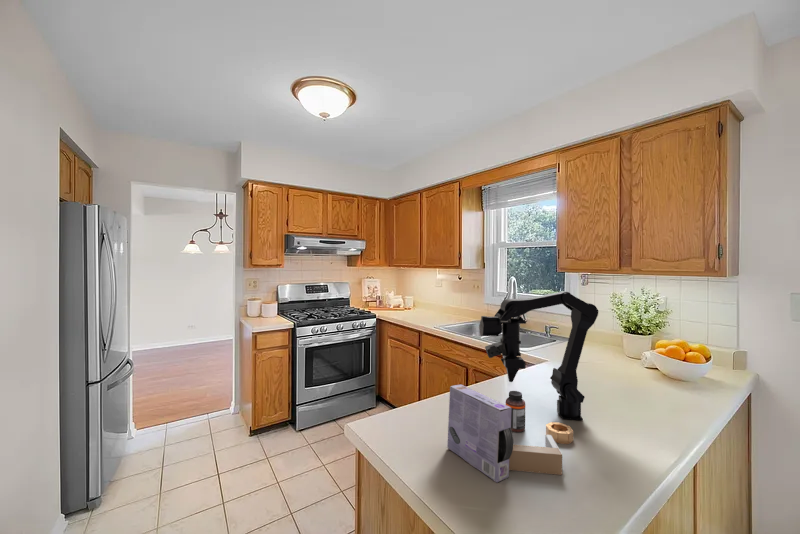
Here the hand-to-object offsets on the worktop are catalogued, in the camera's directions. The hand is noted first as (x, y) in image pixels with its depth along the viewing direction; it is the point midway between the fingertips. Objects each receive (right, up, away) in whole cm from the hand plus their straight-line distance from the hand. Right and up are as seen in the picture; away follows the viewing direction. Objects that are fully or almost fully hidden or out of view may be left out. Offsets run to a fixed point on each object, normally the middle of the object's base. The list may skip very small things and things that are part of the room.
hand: (510, 381), depth 116 cm
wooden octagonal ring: (+10, -12, -15) cm, 21 cm away
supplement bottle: (-1, -12, -9) cm, 15 cm away
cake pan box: (-18, -12, -28) cm, 35 cm away
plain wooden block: (-4, -12, -25) cm, 28 cm away
